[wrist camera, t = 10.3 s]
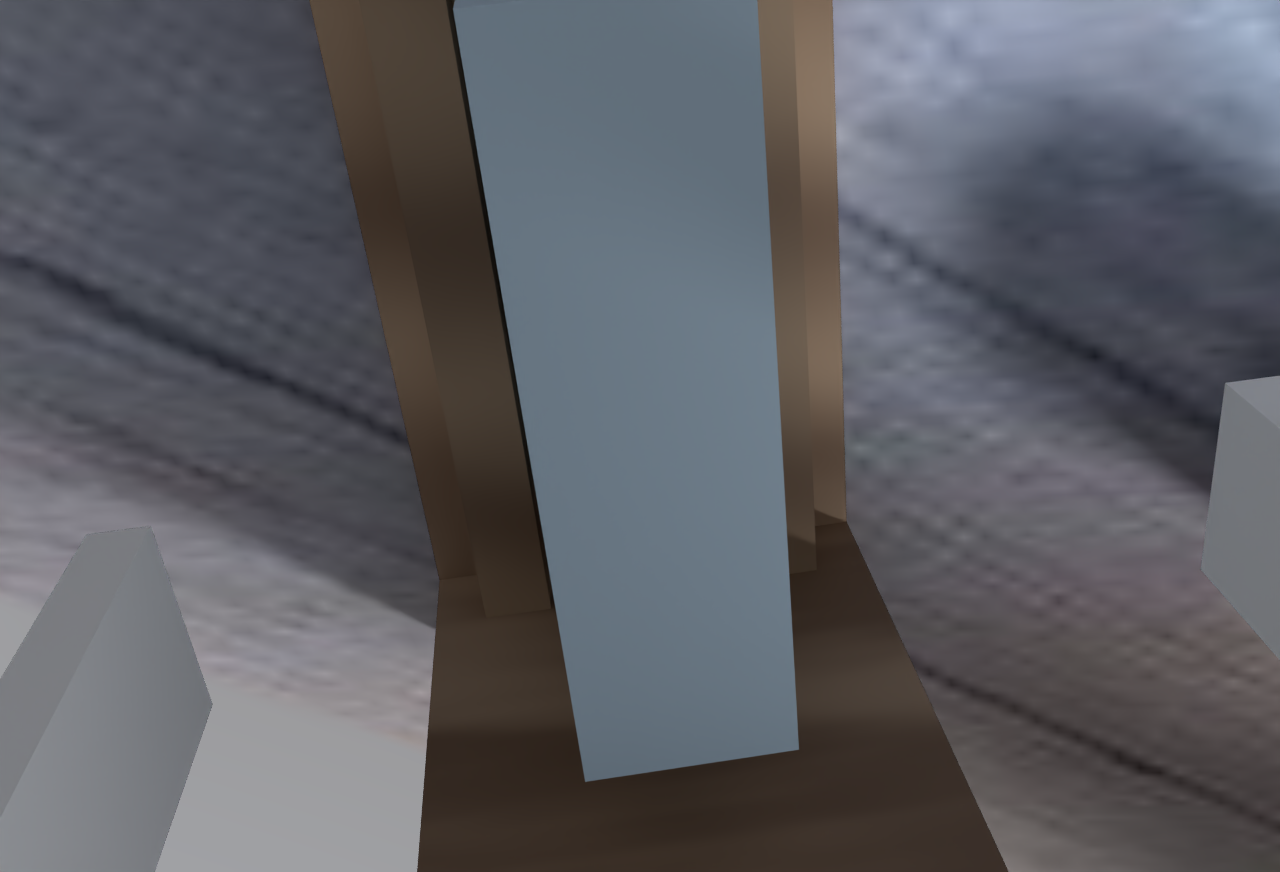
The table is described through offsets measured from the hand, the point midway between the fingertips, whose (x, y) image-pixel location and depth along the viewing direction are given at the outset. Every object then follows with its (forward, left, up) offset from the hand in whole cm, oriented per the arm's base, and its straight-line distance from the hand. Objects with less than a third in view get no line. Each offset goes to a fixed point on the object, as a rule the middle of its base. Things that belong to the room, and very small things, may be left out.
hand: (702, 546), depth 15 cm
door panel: (0, 0, -12) cm, 12 cm away
